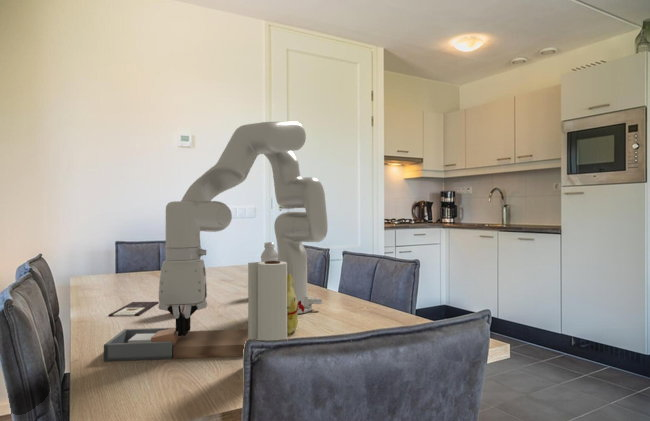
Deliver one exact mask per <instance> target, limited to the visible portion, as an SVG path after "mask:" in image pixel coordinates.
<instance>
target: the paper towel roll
mask: <svg viewBox="0 0 650 421" xmlns="http://www.w3.org/2000/svg"><path fill="white" fill-rule="evenodd" d="M247 268H248V269H247V273H248V274H247V275H248V276H247V285H248V286H247V287H248V288H247V291H248V292H247V296H248V297H247V298H248V299H247V303H248V304H247V307H248V308H247V309H248V311H247V313H248V314H247V319H248V320H247V322H248V324H247V326H248V327H247V329H248V339H260V340H278V339H287V340H288V334H287V262H281V261H266V262H261V261H258V262H257V261H256V262H255V261H254V262H248V263H247Z"/></svg>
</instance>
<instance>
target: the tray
mask: <svg viewBox="0 0 650 421" xmlns="http://www.w3.org/2000/svg"><path fill="white" fill-rule="evenodd" d="M171 328H172V327H153V328H152V327H151V328H146V327H145V328H124V329H123V330H121V331H120V332H118V333H117V334H116V335H115V336H114V337H112V338H111V339H109V340H108V341H107V342H106V343H104V344H103V362H118V361H119V362H120V361H121V362H122V361H146V360H150V361H151V360H169V359H173V347H174V346H175V344H174V345H173V341H169V342H140V343H128V340H129V339H131V338H132V337H133V336H135V335H136V334H152V333H157V332H158V331H162V330H167V329H171ZM181 337H182V335H181ZM178 341H179V340H178Z"/></svg>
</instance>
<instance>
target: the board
mask: <svg viewBox="0 0 650 421" xmlns="http://www.w3.org/2000/svg"><path fill="white" fill-rule="evenodd" d="M247 339H248V328H246V329H245V328H244V329H223V330H222V329H221V330H220V329H218V330H213V329H211V330H190V331H188V333H187V335H186V336H183V335H182V337H181V338H180V339H179V341H178V342H177V343H176V344H175V346H174V347H173V358H172V359H175V360H176V359H198V358H199V359H200V358H223V357H225V358H226V357H227V358H228V357H244V356H243V349H244V344H245V341H246V340H247Z"/></svg>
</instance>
